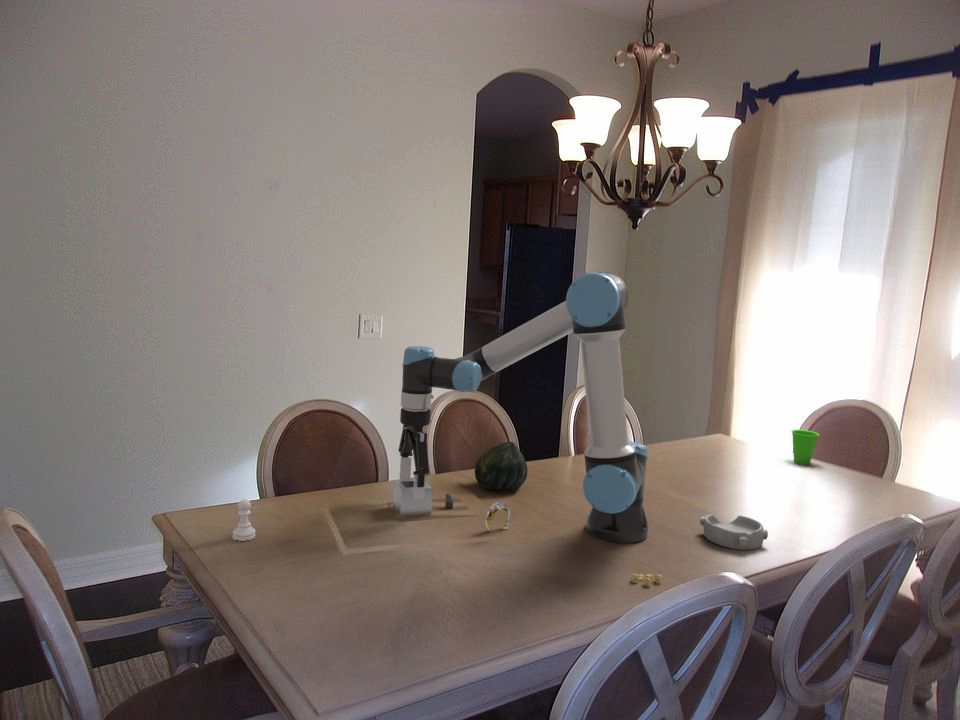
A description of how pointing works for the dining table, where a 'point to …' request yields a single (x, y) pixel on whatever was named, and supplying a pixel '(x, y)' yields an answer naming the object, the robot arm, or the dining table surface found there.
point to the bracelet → (491, 514)
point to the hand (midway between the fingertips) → (411, 490)
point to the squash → (501, 468)
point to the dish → (734, 532)
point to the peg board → (439, 510)
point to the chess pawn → (244, 523)
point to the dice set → (646, 579)
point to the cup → (803, 445)
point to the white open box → (411, 499)
